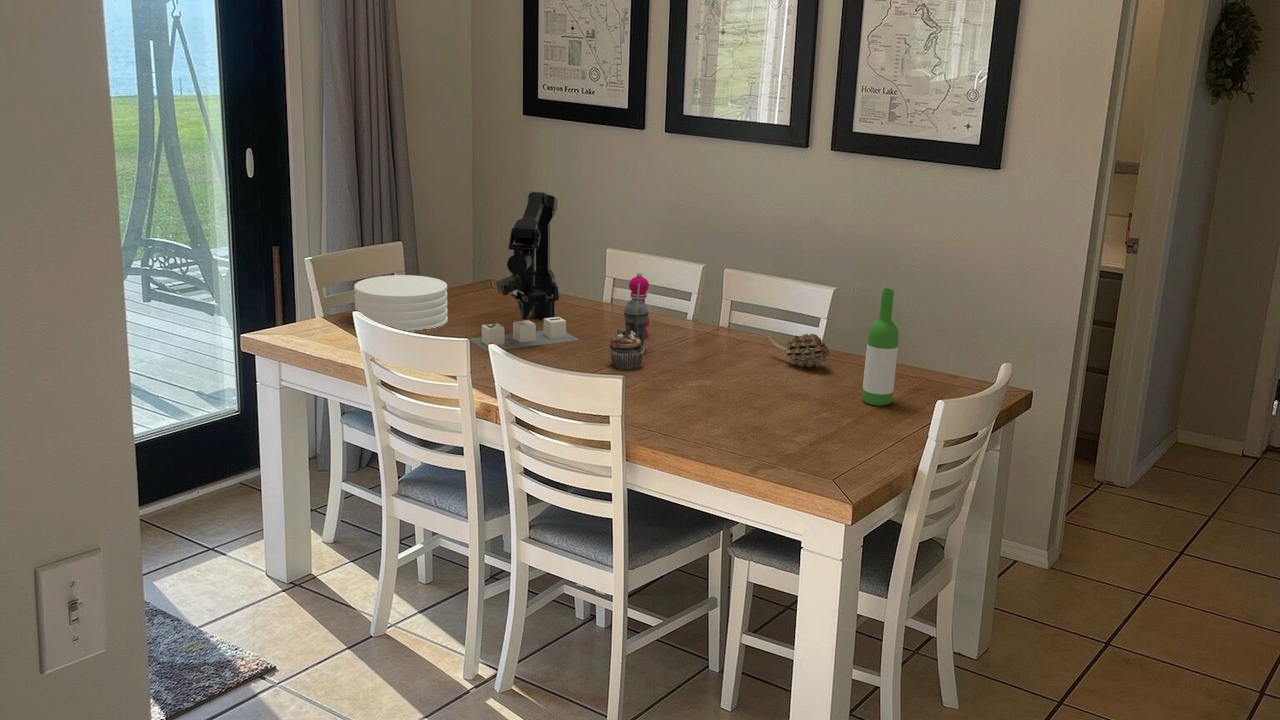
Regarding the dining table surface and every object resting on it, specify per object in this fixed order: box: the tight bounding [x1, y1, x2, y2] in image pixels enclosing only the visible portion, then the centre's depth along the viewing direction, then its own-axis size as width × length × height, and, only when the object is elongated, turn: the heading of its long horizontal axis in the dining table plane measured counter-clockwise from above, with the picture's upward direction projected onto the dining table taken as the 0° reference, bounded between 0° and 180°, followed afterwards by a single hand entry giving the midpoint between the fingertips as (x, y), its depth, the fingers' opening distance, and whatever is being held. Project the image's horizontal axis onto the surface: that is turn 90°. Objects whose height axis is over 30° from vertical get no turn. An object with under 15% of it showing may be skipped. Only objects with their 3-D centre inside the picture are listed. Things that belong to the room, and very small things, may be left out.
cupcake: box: [609, 329, 645, 370], centre depth 321 cm, size 10×10×10 cm
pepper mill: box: [628, 271, 650, 339], centre depth 349 cm, size 7×7×20 cm
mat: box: [469, 329, 580, 352], centre depth 341 cm, size 30×14×1 cm, turn 121°
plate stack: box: [353, 274, 449, 333], centre depth 357 cm, size 28×28×12 cm
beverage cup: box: [623, 284, 650, 348], centre depth 333 cm, size 7×7×20 cm
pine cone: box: [766, 333, 831, 368], centre depth 329 cm, size 22×10×10 cm, turn 50°
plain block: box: [512, 319, 537, 342], centre depth 341 cm, size 5×5×5 cm
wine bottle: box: [861, 287, 900, 407], centre depth 296 cm, size 8×8×30 cm
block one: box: [543, 316, 567, 339], centre depth 346 cm, size 5×5×5 cm
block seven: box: [481, 323, 506, 345], centre depth 336 cm, size 5×5×5 cm
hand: (524, 319), depth 340 cm, fingers closed
